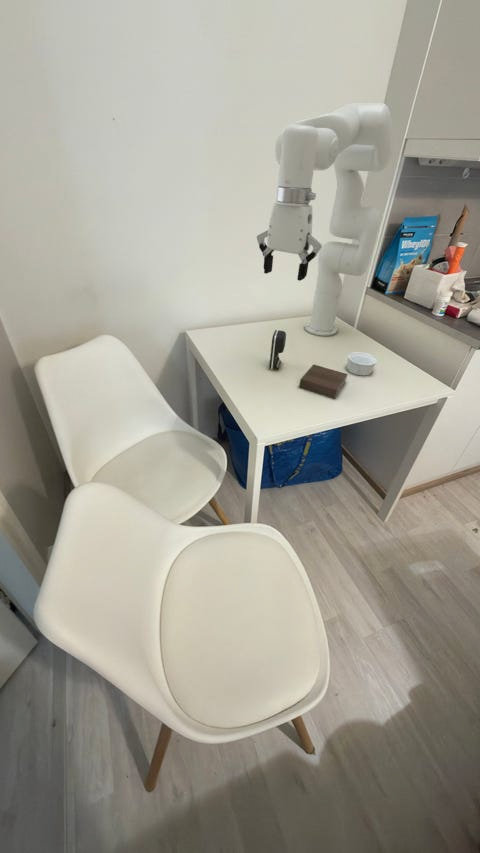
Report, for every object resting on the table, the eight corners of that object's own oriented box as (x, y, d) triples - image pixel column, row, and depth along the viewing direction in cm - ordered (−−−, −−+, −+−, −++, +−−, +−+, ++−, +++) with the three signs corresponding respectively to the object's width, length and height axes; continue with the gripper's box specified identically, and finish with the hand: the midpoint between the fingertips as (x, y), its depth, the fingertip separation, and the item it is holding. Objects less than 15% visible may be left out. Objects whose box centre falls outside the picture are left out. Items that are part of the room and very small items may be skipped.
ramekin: (376, 368, 113) (380, 357, 111) (367, 379, 107) (371, 367, 105) (350, 361, 117) (353, 349, 114) (341, 371, 111) (344, 359, 108)
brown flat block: (311, 372, 110) (313, 364, 108) (345, 382, 105) (347, 373, 104) (298, 387, 102) (300, 378, 100) (334, 399, 98) (336, 390, 96)
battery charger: (280, 371, 109) (284, 338, 102) (268, 370, 110) (272, 336, 103) (283, 362, 114) (287, 329, 107) (272, 360, 115) (275, 327, 108)
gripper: (334, 199, 77) (320, 279, 88) (268, 193, 84) (262, 267, 95) (322, 201, 72) (308, 285, 83) (252, 194, 79) (248, 272, 90)
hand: (284, 275), depth 89 cm, fingers open, 9 cm apart
